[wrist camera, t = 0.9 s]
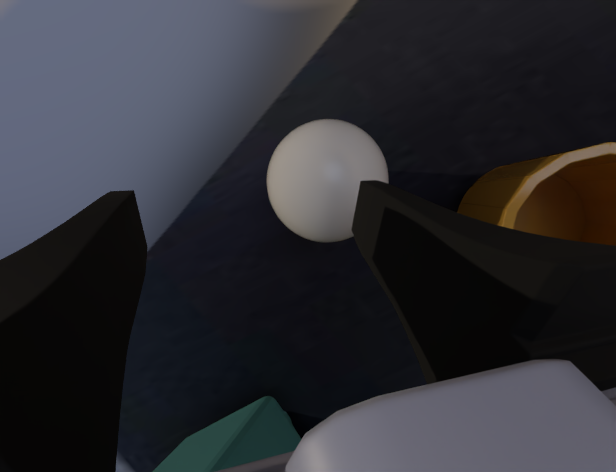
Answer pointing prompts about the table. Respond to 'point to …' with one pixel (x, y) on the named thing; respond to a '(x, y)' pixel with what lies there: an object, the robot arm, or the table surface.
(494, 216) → the mug
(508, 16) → the table surface
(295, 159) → the lightbulb
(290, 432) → the radio
